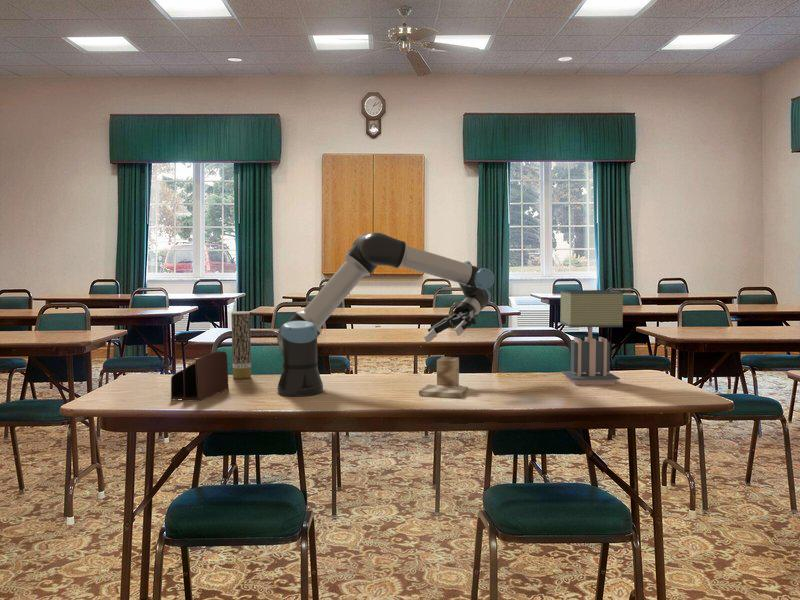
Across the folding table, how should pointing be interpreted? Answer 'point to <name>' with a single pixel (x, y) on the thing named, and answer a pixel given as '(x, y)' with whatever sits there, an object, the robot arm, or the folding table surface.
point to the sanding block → (448, 371)
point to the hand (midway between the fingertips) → (441, 336)
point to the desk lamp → (591, 312)
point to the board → (443, 391)
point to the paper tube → (241, 344)
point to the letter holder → (201, 378)
